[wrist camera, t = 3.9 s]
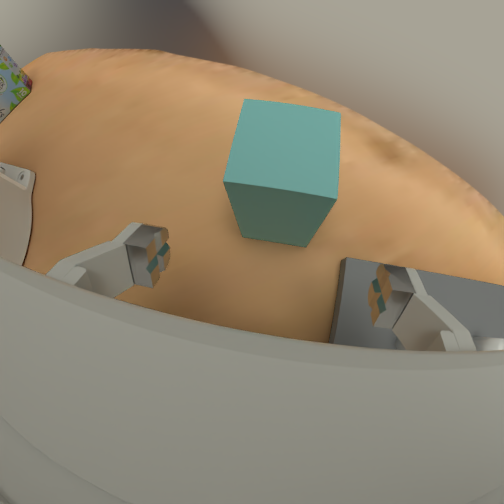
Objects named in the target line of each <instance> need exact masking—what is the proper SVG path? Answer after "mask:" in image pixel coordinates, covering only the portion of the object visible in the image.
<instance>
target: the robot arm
mask: <svg viewBox="0 0 504 504" xmlns="http://www.w3.org/2000/svg"><path fill="white" fill-rule="evenodd" d="M34 181H35V173H34V172H33V171H30V170H28V169H24V168H20V167H17V166H13V165H9V164H6V163H2V162H0V504H504V350H493V351H477V350H476V347H475V344H474V342H473V339H472V337H471V334H470V332H469V331H468V330H467V329H466V328H465V327H464V326H463V325H462V324H461V323H460V322H459V321H458V320H457V319H456V318H455V317H454V316H453V315H452V314H450V313H449V312H448V311H447V310H446V309H445V308H444V307H443V306H442V305H441V304H439V303H438V302H437V301H436V300H435V299H434V298H433V297H432V296H429V295H427V292H426V290H425V288H424V286H423V284H422V281H421V279H420V277H419V275H418V273H417V271H416V270H415V269H414V268H407V267H399V266H393V265H386V264H380V265H379V266H378V268H377V271H376V275H377V278H376V279H375V280H373V281H372V282H371V285H370V287H369V291H368V304H369V306H370V307H371V308H372V309H373V310H372V311H371V313H370V314H371V319H372V324H373V327H380V328H388V329H392V331H393V332H394V333H395V335H396V336H397V337H398V339H399V340H400V342H401V343H402V344H403V346H404V347H405V349H406V350H394V349H380V348H367V347H356V346H347V345H337V344H329V343H321V342H313V341H306V340H299V339H292V338H285V337H279V336H273V335H267V334H261V333H255V332H250V331H244V330H239V329H234V328H229V327H224V326H219V325H215V324H210V323H205V322H201V321H197V320H192V319H188V318H184V317H180V316H176V315H172V314H168V313H164V312H160V311H156V310H152V309H149V308H145V307H141V306H138V305H134V304H131V303H127V302H124V301H120V300H117V299H114V297H116V296H117V295H119V294H121V293H122V292H124V291H125V290H127V289H128V288H130V287H132V286H133V285H134V284H136V285H141V286H145V287H150V288H153V287H154V286H155V284H156V283H157V281H158V280H159V278H160V272H162V271H164V270H165V269H166V268H167V266H168V263H169V260H170V247H169V246H168V244H167V243H166V241H167V240H168V238H169V234H168V229H167V228H166V227H160V226H155V225H149V224H143V223H137V222H132V223H130V224H129V225H128V226H127V227H126V228H125V229H124V230H123V231H122V232H121V233H120V234H119V235H118V236H117V237H116V238H115V239H114V240H113V241H112V242H110V241H107V242H105V243H102V244H99V245H97V246H94V247H92V248H89V249H86V250H84V251H81V252H79V253H76V254H74V255H71V256H69V257H66V258H64V259H61V260H60V261H59V262H58V263H57V264H56V265H55V266H54V267H53V268H52V269H51V270H50V271H49V272H48V273H47V274H46V275H44V274H41V273H39V272H36V271H34V270H31V269H29V268H26V267H24V266H22V263H23V260H24V257H25V254H26V250H27V246H28V242H29V237H30V231H31V222H32V205H31V194H32V190H33V186H34Z"/></svg>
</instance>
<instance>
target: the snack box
mask: <svg viewBox="0 0 504 504" xmlns="http://www.w3.org/2000/svg"><path fill="white" fill-rule="evenodd" d="M31 85H32V80H31V79H30V78H29V77H28V76H27V75H26V74H25V73H24V71H23V70H22V69H21V68H20V67H19V66H18V65H17V64H16V63H15V61H14V60H13V59H12V58H11V57H10V56H9V54H8V53H7V52H6V51H5V50H4V49H3V48H2V47H1V45H0V123H1V122H2V121H3V119H4V118H5V117H6V116H7V115H8V114H9V113H10V112H11V111H12V110H13V109H14V108H15V107H16V106H17V105H18V104H19V103H20V102H21V101H22V100H23V99H24V98H25V97H26V96H27V95H28V94H29V93H30V92H31V91H30V90H31Z"/></svg>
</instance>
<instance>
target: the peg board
mask: <svg viewBox="0 0 504 504" xmlns="http://www.w3.org/2000/svg"><path fill="white" fill-rule="evenodd" d="M380 264H382V263H377V262H371V261H365V260H359V259H354V258H348V257H346V258H345V259H343V260H341V267H340V275H339V283H338V290H337V297H336V304H335V310H334V316H333V322H332V328H331V333H330V339H329V344H337V345H347V346H356V347H367V348H380V349H394V350H406V349H405V347H404V346H403V344H402V343H401V342H400V340H399V339H398V337H397V336H396V335H395V333H394V332H393V331H392V329H388V328H380V327H373V324H372V319H371V314H370V313H371V311H372V310H373V309H372V308H371V307H370V306H369V304H368V291H369V287H370V285H371V282H372V281H373V280H375V279H376V278H377V275H376V271H377V268H378V266H379V265H380ZM386 265H388V264H386ZM393 266H394V265H393ZM415 270H416V269H415ZM416 271H417V273H418V275H419V277H420V279H421V281H422V284H423V286H424V288H425V290H426V292H427V295H429V296H432V297H433V298H434V299H435V300H436V301H437V302H438V303H439V304H441V305H442V306H443V307H444V308H445V309H446V310H447V311H448V312H449V313H450V314H452V315H453V316H454V317H455V318H456V319H457V320H458V321H459V322H460V323H461V324H462V325H463V326H464V327H465V328H466V329H467V330H468V331H469V332H470V334H471V337H472V339H473V342H474V344H475V347H476V350H477V351H493V350H504V286H502V285H497V284H491V283H486V282H481V281H476V280H470V279H465V278H460V277H454V276H449V275H443V274H438V273H433V272H427V271H422V270H416Z"/></svg>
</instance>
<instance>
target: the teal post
mask: <svg viewBox="0 0 504 504" xmlns="http://www.w3.org/2000/svg"><path fill="white" fill-rule="evenodd" d="M340 122H341V113H338V112H334V111H329V110H324V109H318V108H313V107H307V106H301V105H294V104H288V103H280V102H272V101H263V100H252V99H244V102H243V106H242V109H241V113H240V117H239V120H238V124H237V128H236V132H235V135H234V139H233V143H232V147H231V151H230V155H229V159H228V163H227V167H226V171H225V175H224V179H223V183H224V186H225V188H226V191H227V194H228V197H229V200H230V203H231V206H232V209H233V211H234V214H235V217H236V220H237V223H238V226H239V229H240V231H241V234H242V237H245V238H251V239H258V240H264V241H270V242H276V243H282V244H288V245H294V246H300V247H306V246H307V245H308V243H309V242H310V240H311V239H312V237H313V236H314V234H315V233H316V231H317V230H318V228H319V227H320V225H321V224H322V222H323V221H324V219H325V217H326V216H327V214H328V213H329V211H330V210H331V208H332V207H333V205H334V203H335V202H336V200H337V197H338V181H339V162H340Z"/></svg>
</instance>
